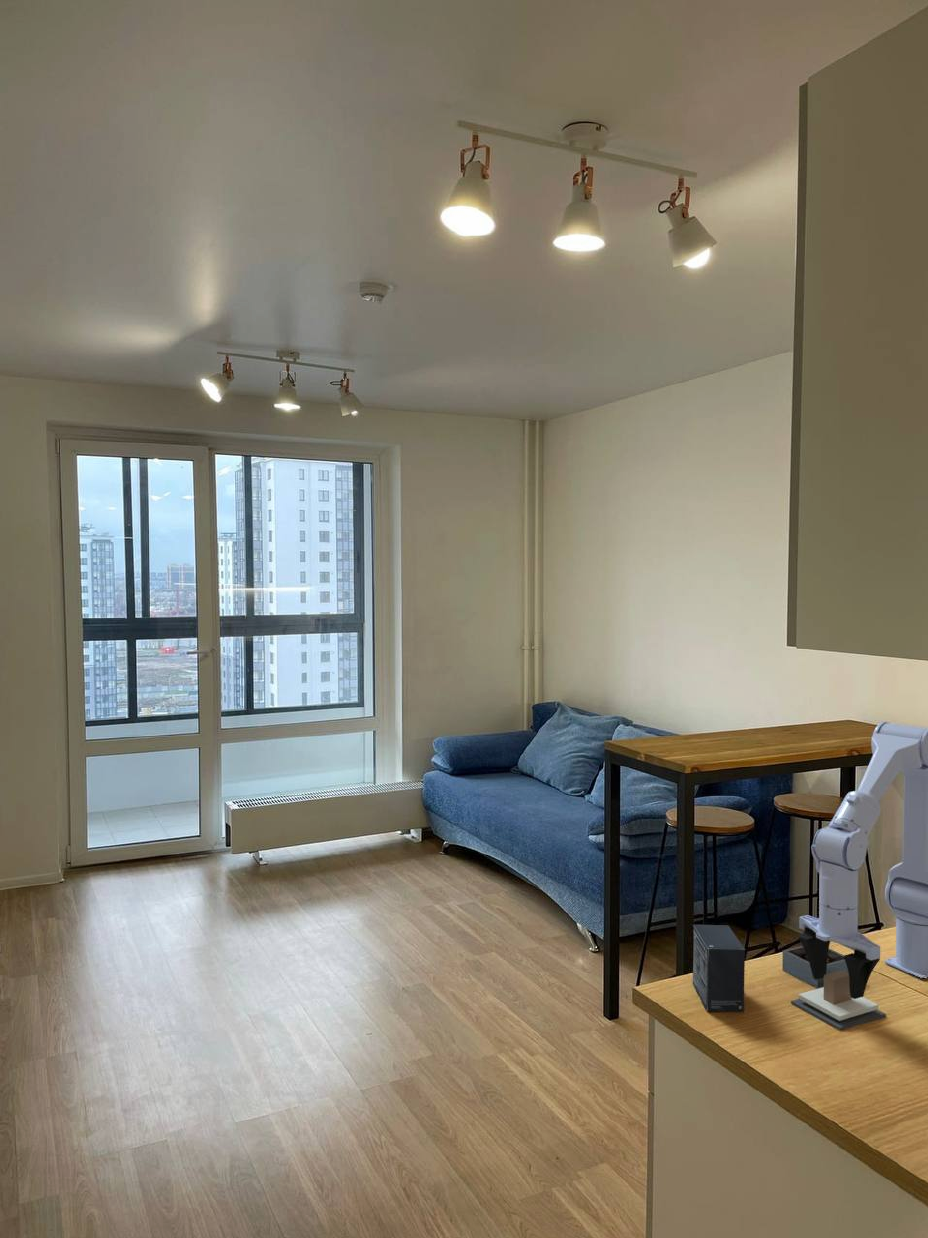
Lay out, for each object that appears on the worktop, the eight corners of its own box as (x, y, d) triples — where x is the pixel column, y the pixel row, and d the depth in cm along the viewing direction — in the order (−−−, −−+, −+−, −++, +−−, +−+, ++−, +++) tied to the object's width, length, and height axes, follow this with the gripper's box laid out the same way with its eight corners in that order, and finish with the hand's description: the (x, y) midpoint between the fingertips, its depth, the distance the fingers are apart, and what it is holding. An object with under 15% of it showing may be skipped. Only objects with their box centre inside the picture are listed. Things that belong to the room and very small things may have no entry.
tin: (815, 961, 166) (816, 942, 166) (851, 978, 159) (852, 958, 159) (782, 969, 163) (782, 950, 162) (817, 988, 155) (817, 967, 155)
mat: (835, 990, 154) (835, 988, 154) (885, 1016, 145) (885, 1013, 145) (790, 1003, 150) (790, 1000, 150) (839, 1030, 141) (839, 1027, 141)
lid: (836, 991, 153) (836, 959, 153) (878, 1012, 146) (878, 979, 146) (798, 1001, 150) (798, 969, 150) (839, 1024, 142) (839, 990, 142)
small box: (747, 1012, 147) (747, 948, 147) (706, 1012, 147) (706, 948, 147) (729, 983, 158) (729, 923, 157) (691, 983, 158) (691, 923, 157)
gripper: (785, 893, 152) (785, 974, 152) (857, 923, 139) (856, 1011, 139) (817, 886, 155) (816, 965, 155) (890, 915, 142) (889, 1001, 142)
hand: (837, 986), depth 148 cm, fingers open, 7 cm apart
